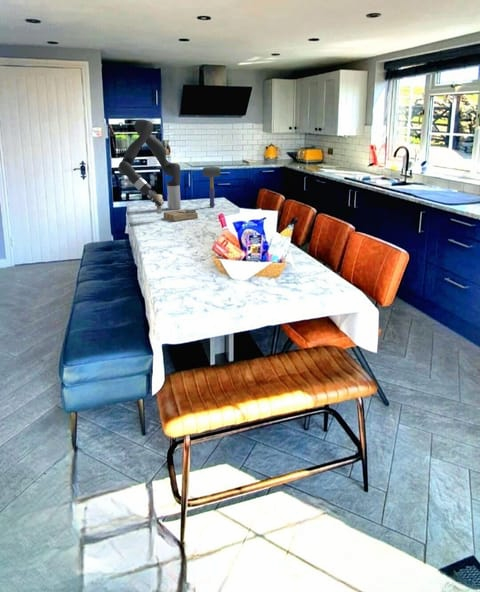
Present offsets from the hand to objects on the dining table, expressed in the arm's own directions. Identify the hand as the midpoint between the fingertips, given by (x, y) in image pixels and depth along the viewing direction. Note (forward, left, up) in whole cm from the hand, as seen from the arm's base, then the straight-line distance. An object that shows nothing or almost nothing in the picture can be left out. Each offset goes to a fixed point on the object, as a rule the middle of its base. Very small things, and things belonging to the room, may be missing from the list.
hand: (161, 204), depth 336 cm
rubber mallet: (-21, +55, -11) cm, 59 cm away
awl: (-1, -1, -6) cm, 6 cm away
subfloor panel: (-1, +15, -11) cm, 18 cm away
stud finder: (+4, +20, -7) cm, 22 cm away
